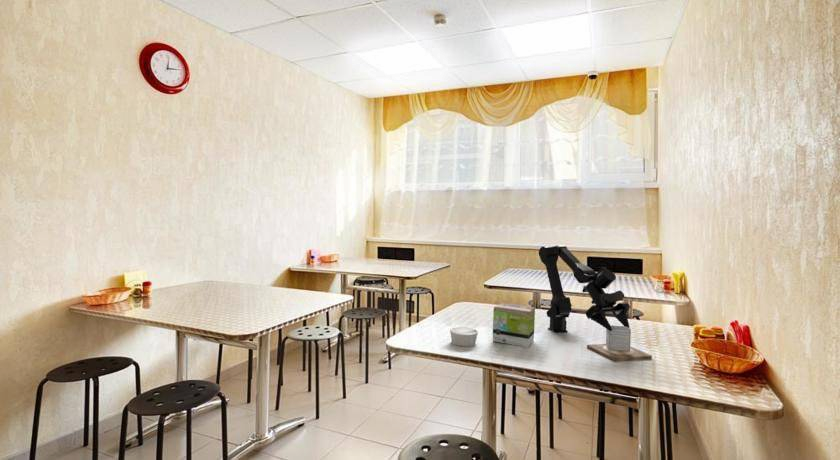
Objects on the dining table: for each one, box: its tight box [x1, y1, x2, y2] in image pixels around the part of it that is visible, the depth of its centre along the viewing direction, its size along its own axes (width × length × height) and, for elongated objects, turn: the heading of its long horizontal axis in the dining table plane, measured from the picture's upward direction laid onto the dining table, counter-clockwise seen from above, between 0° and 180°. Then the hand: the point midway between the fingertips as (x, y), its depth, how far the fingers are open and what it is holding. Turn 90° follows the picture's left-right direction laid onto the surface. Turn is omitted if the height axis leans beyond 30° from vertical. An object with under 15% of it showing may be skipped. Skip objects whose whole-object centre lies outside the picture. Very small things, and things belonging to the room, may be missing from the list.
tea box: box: [492, 302, 536, 349], centre depth 175 cm, size 15×10×15 cm, turn 62°
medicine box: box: [605, 325, 632, 351], centre depth 163 cm, size 8×4×9 cm, turn 78°
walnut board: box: [586, 343, 653, 362], centre depth 163 cm, size 16×16×1 cm
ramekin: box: [449, 326, 479, 348], centre depth 172 cm, size 11×11×5 cm
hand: (620, 329), depth 162 cm, fingers open, 9 cm apart
